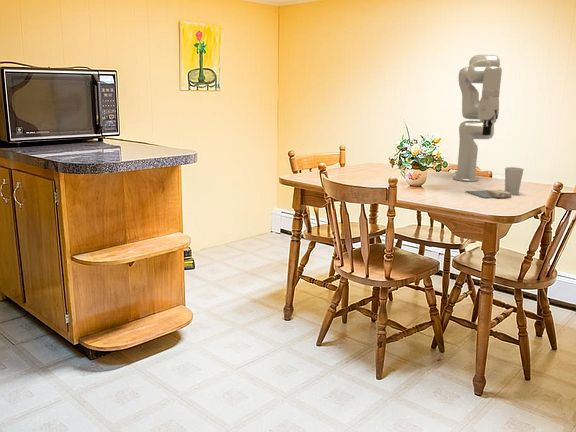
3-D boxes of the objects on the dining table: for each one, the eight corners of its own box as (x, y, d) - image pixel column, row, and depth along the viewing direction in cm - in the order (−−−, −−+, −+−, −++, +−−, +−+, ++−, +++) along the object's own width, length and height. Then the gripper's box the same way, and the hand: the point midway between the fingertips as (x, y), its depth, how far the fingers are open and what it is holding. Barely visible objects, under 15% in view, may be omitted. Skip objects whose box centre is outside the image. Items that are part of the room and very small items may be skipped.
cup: (508, 195, 247) (511, 169, 244) (499, 192, 254) (501, 167, 252) (524, 195, 248) (527, 169, 246) (513, 191, 256) (516, 167, 253)
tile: (497, 193, 238) (511, 193, 240) (486, 190, 245) (500, 189, 247) (496, 197, 238) (510, 197, 240) (486, 194, 246) (499, 193, 248)
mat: (465, 192, 253) (465, 190, 253) (491, 191, 256) (491, 190, 256) (484, 198, 239) (484, 197, 239) (511, 197, 242) (511, 196, 242)
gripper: (473, 94, 249) (470, 133, 253) (493, 94, 235) (488, 136, 239) (488, 94, 251) (484, 133, 255) (507, 94, 237) (503, 136, 241)
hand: (486, 135), depth 247 cm, fingers closed
